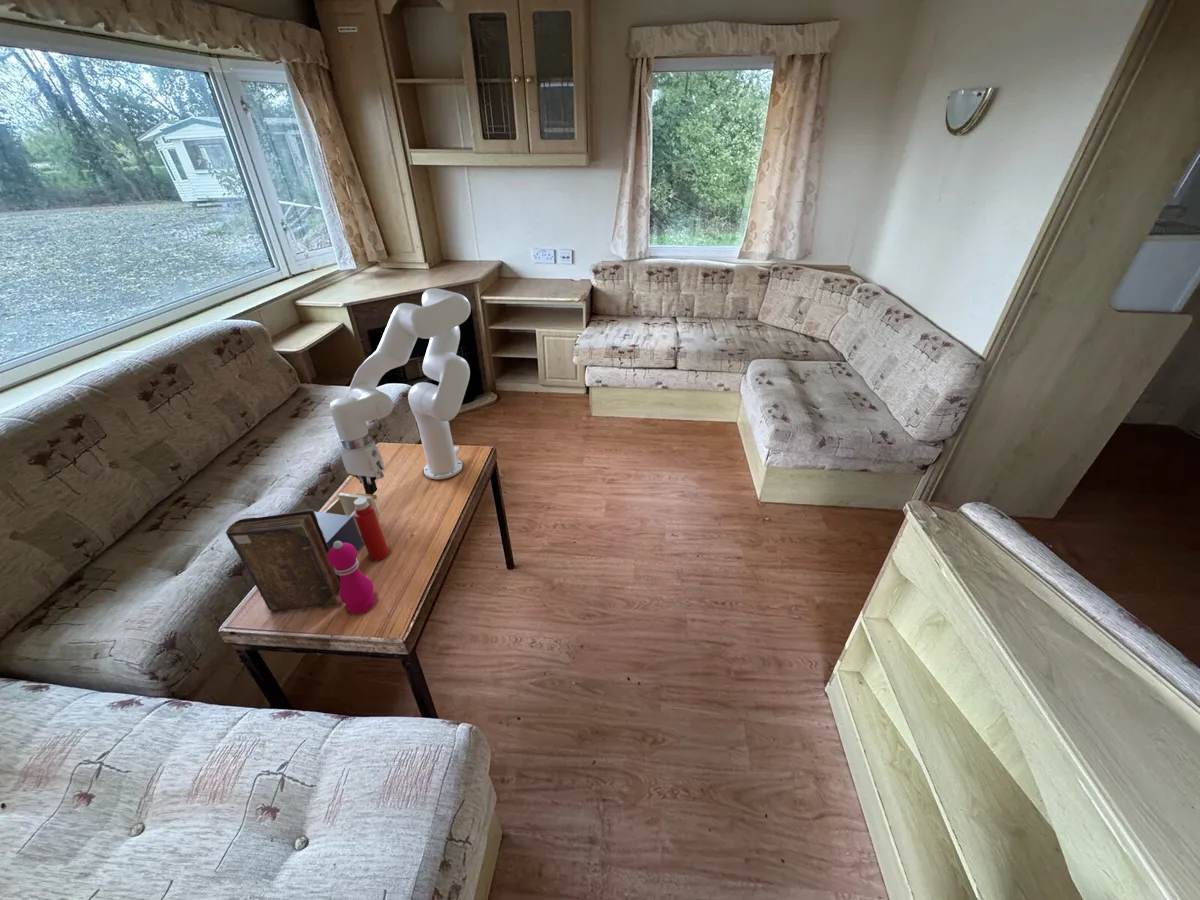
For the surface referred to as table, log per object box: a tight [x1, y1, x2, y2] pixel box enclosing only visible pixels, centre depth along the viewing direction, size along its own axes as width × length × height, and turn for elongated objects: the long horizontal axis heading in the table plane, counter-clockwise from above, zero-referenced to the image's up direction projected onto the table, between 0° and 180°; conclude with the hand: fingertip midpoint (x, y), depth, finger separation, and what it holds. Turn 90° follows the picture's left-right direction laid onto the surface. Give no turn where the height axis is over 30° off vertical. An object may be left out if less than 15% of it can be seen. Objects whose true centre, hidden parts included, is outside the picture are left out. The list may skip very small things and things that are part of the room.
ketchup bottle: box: [354, 497, 390, 561], centre depth 125 cm, size 5×5×18 cm
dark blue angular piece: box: [314, 510, 364, 552], centre depth 125 cm, size 15×12×10 cm
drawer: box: [323, 492, 381, 538], centre depth 136 cm, size 18×10×8 cm, turn 169°
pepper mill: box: [327, 541, 377, 615], centre depth 110 cm, size 7×7×20 cm
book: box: [225, 508, 341, 612], centre depth 110 cm, size 17×7×25 cm, turn 93°
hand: (372, 492), depth 145 cm, fingers closed
